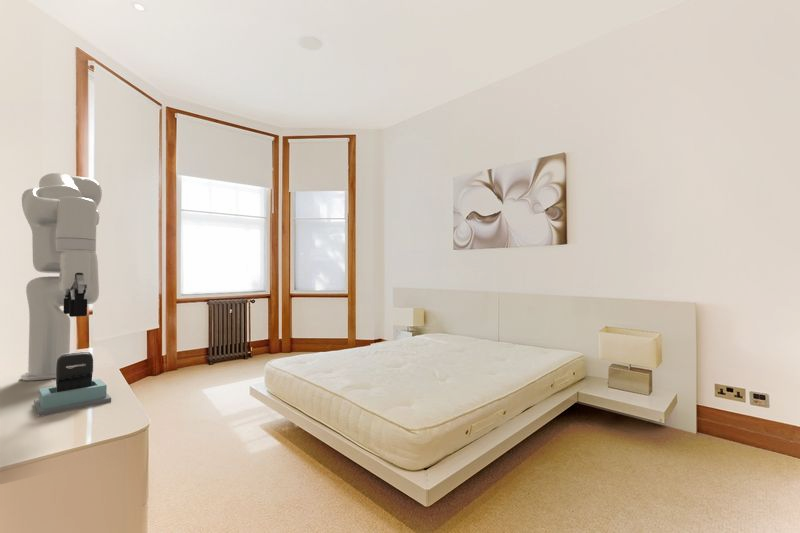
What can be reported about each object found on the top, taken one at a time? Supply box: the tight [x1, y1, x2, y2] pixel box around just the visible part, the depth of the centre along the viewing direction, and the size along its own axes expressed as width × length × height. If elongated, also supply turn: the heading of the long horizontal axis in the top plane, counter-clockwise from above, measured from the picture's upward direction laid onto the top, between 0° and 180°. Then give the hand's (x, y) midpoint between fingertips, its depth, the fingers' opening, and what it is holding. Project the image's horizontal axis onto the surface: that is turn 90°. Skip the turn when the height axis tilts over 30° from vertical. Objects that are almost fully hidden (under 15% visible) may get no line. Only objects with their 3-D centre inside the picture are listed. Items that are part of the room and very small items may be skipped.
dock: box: [33, 378, 112, 418], centre depth 91 cm, size 12×13×4 cm
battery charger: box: [55, 350, 94, 392], centre depth 91 cm, size 7×4×11 cm, turn 136°
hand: (74, 314), depth 92 cm, fingers open, 9 cm apart
